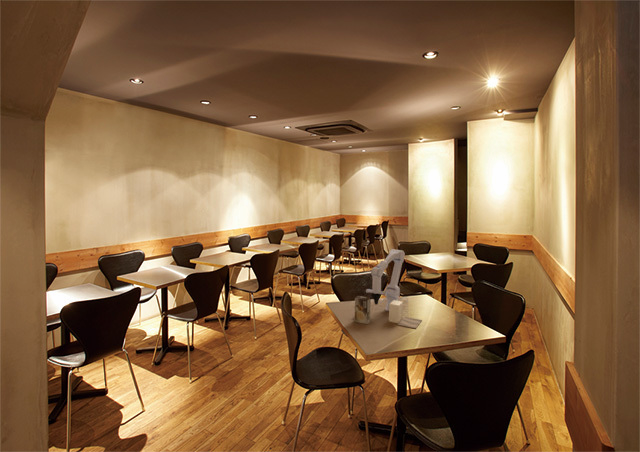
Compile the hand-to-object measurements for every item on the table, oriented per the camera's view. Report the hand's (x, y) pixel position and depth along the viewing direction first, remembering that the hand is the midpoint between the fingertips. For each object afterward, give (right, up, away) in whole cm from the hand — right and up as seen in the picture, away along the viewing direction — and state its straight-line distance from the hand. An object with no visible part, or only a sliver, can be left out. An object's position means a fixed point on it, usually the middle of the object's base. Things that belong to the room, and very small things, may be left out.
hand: (376, 304), depth 229 cm
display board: (+20, -10, -11) cm, 25 cm away
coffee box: (-11, -9, -9) cm, 17 cm away
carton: (+12, -9, -6) cm, 16 cm away
